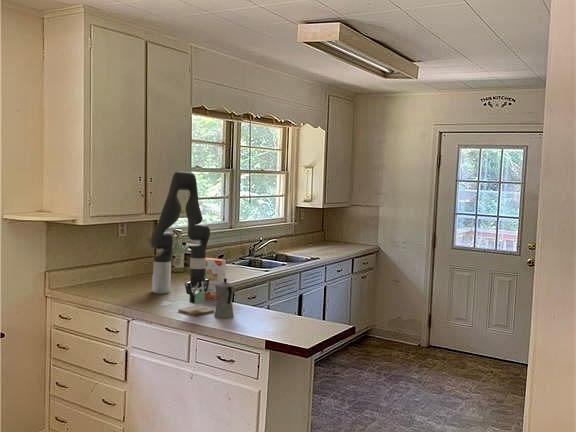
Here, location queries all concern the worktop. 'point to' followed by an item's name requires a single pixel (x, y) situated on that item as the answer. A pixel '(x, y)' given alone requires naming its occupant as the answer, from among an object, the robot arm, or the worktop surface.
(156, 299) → the worktop surface
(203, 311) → the walnut board
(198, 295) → the sage block
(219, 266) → the cracker box
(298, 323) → the worktop surface
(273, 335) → the worktop surface
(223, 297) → the coffeepot
